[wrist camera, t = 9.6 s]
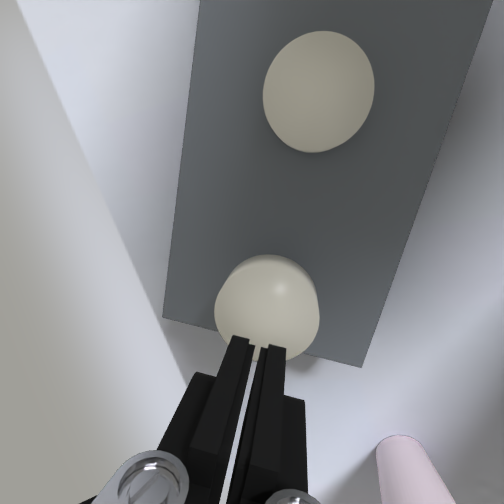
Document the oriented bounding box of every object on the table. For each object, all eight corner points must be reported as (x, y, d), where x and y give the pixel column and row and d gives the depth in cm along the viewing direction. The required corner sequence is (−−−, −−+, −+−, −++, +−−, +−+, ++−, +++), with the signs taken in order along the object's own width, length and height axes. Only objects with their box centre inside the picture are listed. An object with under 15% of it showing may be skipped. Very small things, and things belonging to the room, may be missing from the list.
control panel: (257, -178, 16) (239, -326, 11) (502, -150, 15) (599, -298, 10) (189, 286, 23) (162, 317, 19) (348, 324, 22) (361, 368, 18)
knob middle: (283, 68, 18) (275, 22, 12) (358, 82, 18) (389, 41, 12) (267, 147, 19) (253, 140, 13) (337, 161, 19) (355, 161, 13)
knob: (247, 225, 18) (223, 255, 12) (320, 242, 18) (332, 281, 12) (235, 292, 20) (207, 348, 14) (303, 308, 19) (305, 373, 13)
